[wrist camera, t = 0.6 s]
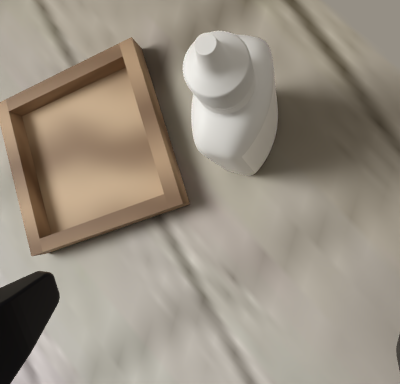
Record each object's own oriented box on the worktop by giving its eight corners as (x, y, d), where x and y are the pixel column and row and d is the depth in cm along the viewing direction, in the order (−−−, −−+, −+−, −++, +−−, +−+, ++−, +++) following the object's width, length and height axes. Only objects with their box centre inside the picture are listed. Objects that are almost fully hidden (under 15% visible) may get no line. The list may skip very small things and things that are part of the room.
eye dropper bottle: (305, 122, 21) (329, 10, 9) (243, 187, 21) (192, 160, 10) (255, 80, 22) (218, -70, 10) (197, 143, 22) (102, 71, 11)
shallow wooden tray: (190, 204, 22) (182, 203, 21) (47, 253, 25) (31, 256, 23) (141, 48, 24) (131, 37, 22) (12, 110, 27) (-5, 104, 25)
